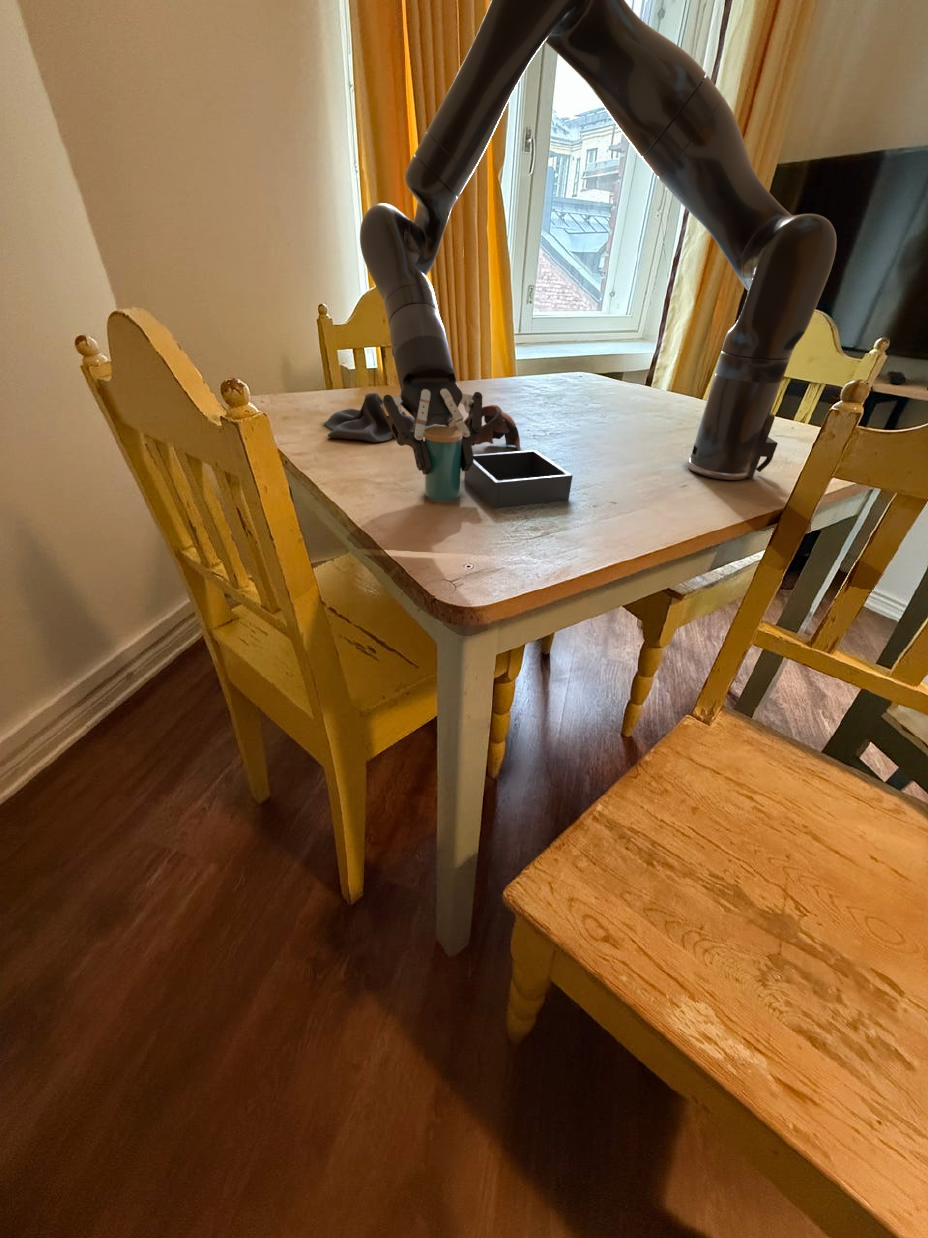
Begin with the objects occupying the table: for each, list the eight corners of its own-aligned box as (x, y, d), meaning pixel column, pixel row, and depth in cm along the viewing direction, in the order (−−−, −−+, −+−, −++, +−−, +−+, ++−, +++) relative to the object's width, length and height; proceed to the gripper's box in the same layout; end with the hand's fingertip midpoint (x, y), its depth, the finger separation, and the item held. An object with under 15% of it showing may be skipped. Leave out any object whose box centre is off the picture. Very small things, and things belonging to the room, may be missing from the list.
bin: (532, 475, 80) (535, 449, 78) (568, 503, 71) (572, 475, 69) (464, 482, 76) (465, 455, 74) (493, 512, 68) (495, 482, 66)
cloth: (334, 447, 88) (330, 408, 84) (312, 419, 101) (307, 385, 98) (454, 435, 96) (455, 400, 92) (418, 411, 110) (418, 380, 106)
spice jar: (461, 488, 73) (463, 427, 68) (459, 502, 69) (462, 438, 64) (425, 486, 73) (425, 425, 69) (422, 500, 69) (422, 435, 64)
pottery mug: (525, 463, 86) (506, 420, 81) (473, 481, 90) (452, 442, 84) (525, 425, 94) (507, 384, 88) (478, 444, 97) (458, 405, 92)
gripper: (371, 332, 64) (398, 460, 62) (479, 332, 68) (507, 452, 66) (365, 371, 71) (389, 487, 69) (463, 369, 75) (489, 478, 73)
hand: (447, 469), depth 68 cm, fingers closed on spice jar, 5 cm apart
